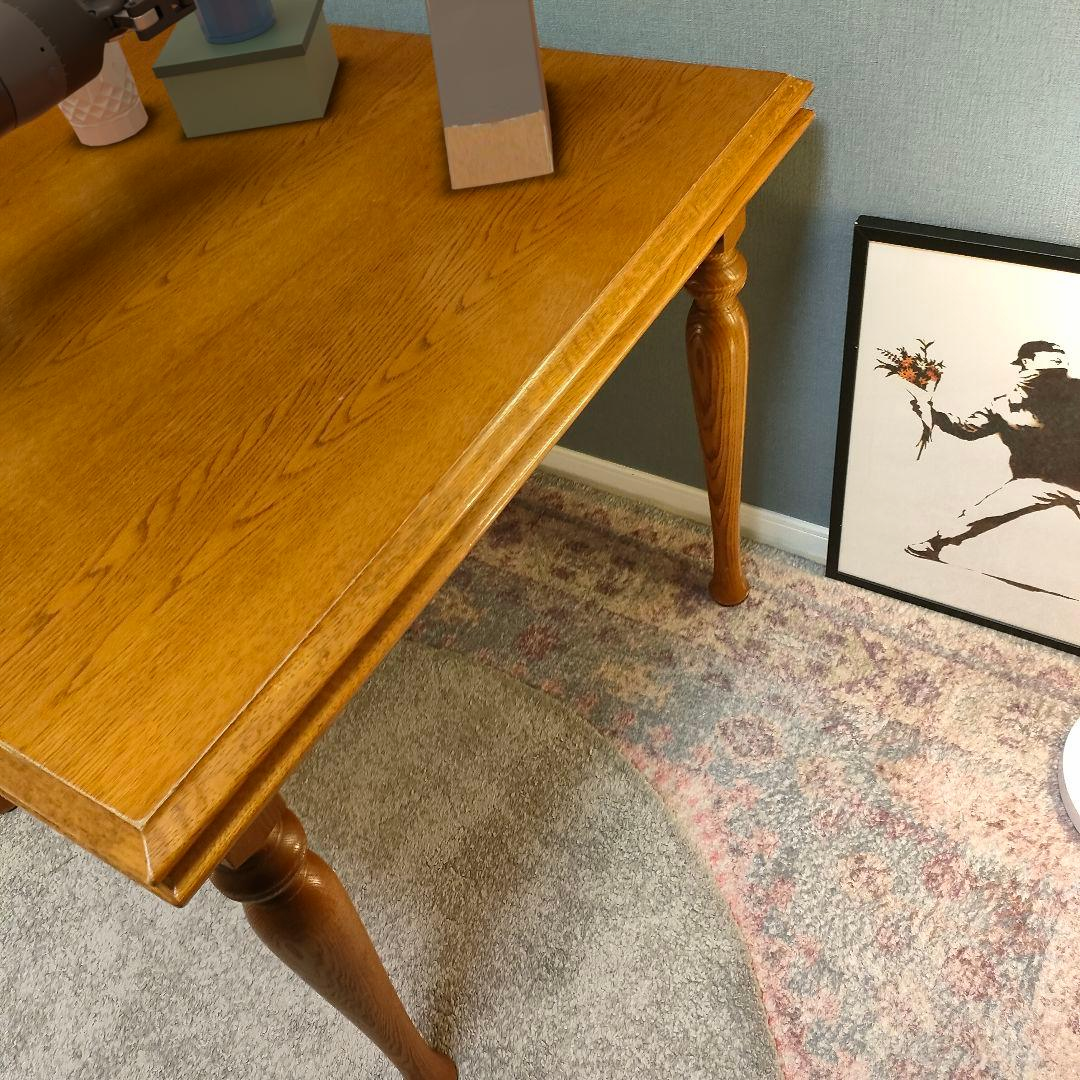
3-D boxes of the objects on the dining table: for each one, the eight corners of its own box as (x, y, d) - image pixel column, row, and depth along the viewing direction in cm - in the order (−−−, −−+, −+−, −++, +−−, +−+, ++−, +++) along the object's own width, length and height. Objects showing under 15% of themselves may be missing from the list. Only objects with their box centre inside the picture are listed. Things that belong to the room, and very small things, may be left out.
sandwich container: (449, 197, 79) (400, -4, 67) (451, 107, 89) (409, -81, 78) (557, 179, 78) (526, -27, 67) (546, 90, 88) (518, -102, 77)
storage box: (184, 144, 92) (151, 67, 87) (211, 86, 100) (182, 13, 95) (327, 122, 91) (301, 43, 85) (343, 65, 98) (321, -10, 93)
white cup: (94, 161, 93) (38, 51, 85) (62, 138, 97) (6, 32, 90) (169, 124, 95) (120, 15, 88) (134, 103, 100) (85, -2, 92)
